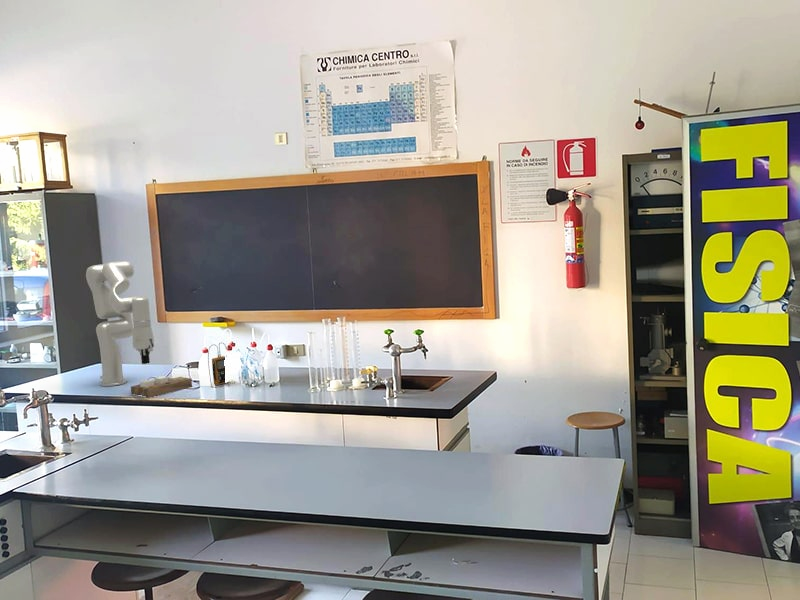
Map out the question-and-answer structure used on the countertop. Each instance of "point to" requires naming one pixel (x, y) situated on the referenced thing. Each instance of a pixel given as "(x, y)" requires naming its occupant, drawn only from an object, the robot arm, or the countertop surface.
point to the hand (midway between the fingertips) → (145, 363)
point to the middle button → (161, 380)
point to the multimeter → (218, 369)
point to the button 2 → (175, 377)
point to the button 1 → (147, 383)
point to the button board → (162, 387)
